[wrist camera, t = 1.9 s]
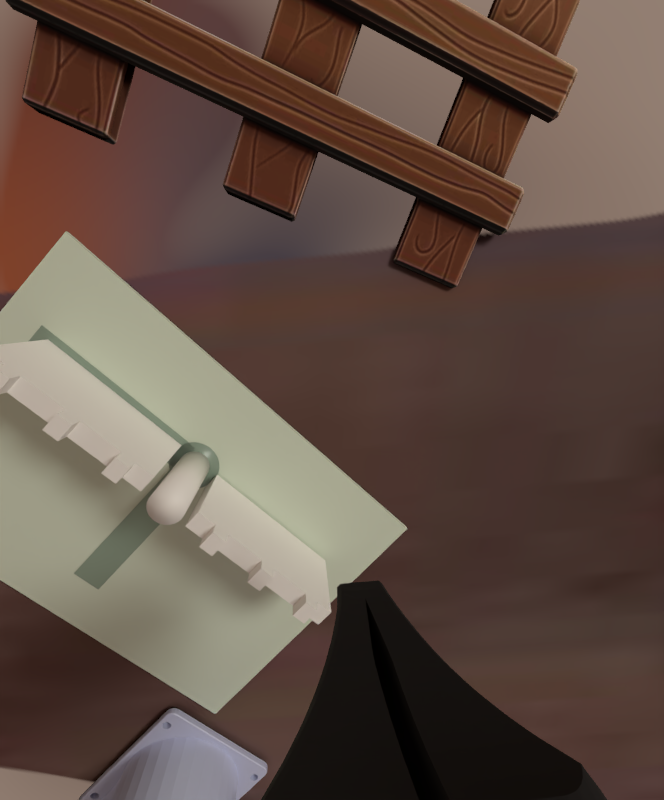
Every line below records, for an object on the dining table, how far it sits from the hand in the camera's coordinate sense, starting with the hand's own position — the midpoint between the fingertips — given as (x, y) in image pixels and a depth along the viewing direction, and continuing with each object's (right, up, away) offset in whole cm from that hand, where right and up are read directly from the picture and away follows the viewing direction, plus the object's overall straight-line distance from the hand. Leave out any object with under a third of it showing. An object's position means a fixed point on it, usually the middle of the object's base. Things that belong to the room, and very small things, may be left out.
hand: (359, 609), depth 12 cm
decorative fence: (-2, +23, +6) cm, 24 cm away
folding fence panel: (-4, 0, +10) cm, 11 cm away
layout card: (-11, +1, +9) cm, 14 cm away
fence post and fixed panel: (-11, +6, +8) cm, 15 cm away
